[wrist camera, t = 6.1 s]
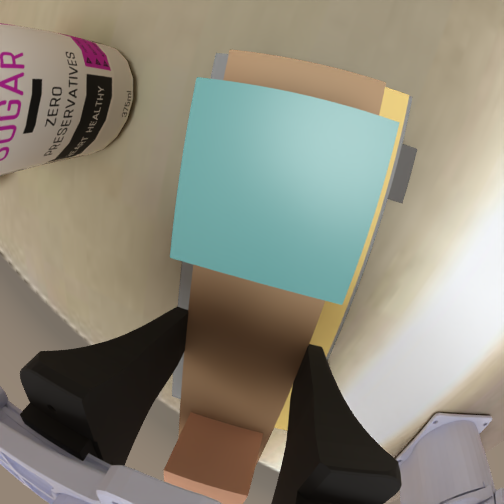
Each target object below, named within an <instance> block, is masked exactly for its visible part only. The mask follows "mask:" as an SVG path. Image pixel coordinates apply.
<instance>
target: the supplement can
mask: <svg viewBox="0 0 504 504" xmlns="http://www.w3.org/2000/svg"><path fill="white" fill-rule="evenodd" d="M132 100H133V76H132V74H131V71H130V68H129V65H128V62H127V60H126V59H125V58H124V57H123V56H122V54H121V53H120V52H119V51H118V50H117V49H115V48H112V47H109V46H107V45H104V44H100V43H96V42H93V41H89V40H85V39H81V38H77V37H73V36H68V35H64V34H59V33H55V32H50V31H45V30H39V29H34V28H28V27H22V26H15V25H8V24H1V23H0V176H2V175H5V174H9V173H12V172H16V171H20V170H24V169H27V168H31V167H35V166H39V165H44V164H48V163H52V162H56V161H61V160H65V159H70V158H75V157H80V156H85V155H89V154H92V153H94V152H97V151H100V150H103V149H104V148H105V147H106V146H107V145H108V144H109V143H111V142H112V141H113V140H114V139H115V138H116V137H117V136H118V134H119V132H120V131H121V129H122V127H123V126H124V124H125V122H126V121H127V118H128V115H129V111H130V107H131V104H132Z"/></svg>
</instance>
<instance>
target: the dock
mask: <svg viewBox="0 0 504 504" xmlns="http://www.w3.org/2000/svg"><path fill="white" fill-rule="evenodd" d="M228 56H229V54H222V53H216V55H215V60H214V65H213V69H212V74H211V79H217V80H223V79H224V74H225V70H226V65H227V60H228ZM411 102H412V97H411V96H409V95H407V94H404V93H401V92H399V91H396V90H393V89H390V88H387V87H385V90H384V95H383V99H382V104H381V109H380V113H379V116H382V117H385V118H388V119H391V120H394V121H397V122H399V127H398V131H397V135H396V139H395V143H394V147H393V151H392V155H391V159H390V162H389V166H388V170H387V173H386V177H385V180H384V184H383V187H382V191H381V194H380V198H379V201H378V204H377V207H376V211H375V214H374V217H373V220H372V223H371V226H370V229H369V232H368V235H367V238H366V241H365V244H364V247H363V250H362V253H361V256H360V259H359V262H358V264H357V267H356V270H355V273H354V275H353V278H352V281H351V283H350V286H349V289H348V291H347V294H346V296H345V299H344V302H343V304H342V305H340V304H336V303H332V302H328V301H325V303H324V306H323V309H322V312H321V314H320V317H319V320H318V322H317V325H316V328H315V330H314V333H313V336H312V338H311V341H310V343H309V344H312V345H316V346H321V347H322V348H323V350H324V353H325V356H326V359H327V361H328V358H329V356H330V354H331V352H332V349H333V347H334V345H335V342H336V340H337V338H338V335H339V333H340V331H341V328H342V326H343V323H344V321H345V319H346V316H347V314H348V311H349V309H350V306H351V304H352V301H353V299H354V296H355V293H356V291H357V288H358V285H359V283H360V280H361V277H362V275H363V272H364V269H365V266H366V264H367V261H368V258H369V255H370V252H371V249H372V246H373V243H374V240H375V237H376V234H377V231H378V228H379V225H380V222H381V219H382V215H383V212H384V209H385V206H386V202H387V199H390V200H393V201H396V202H399V203H403V199H404V196H405V193H406V189H407V186H408V182H409V179H410V175H411V171H412V168H413V164H414V160H415V156H416V152H417V149H415V148H413V147H410V146H407V145H404V144H402V143H403V139H404V134H405V130H406V126H407V121H408V116H409V112H410V107H411ZM192 272H193V264H190V263H187V262H183V261H182V267H181V277H180V287H179V298H178V307H180V308H183V309H186V310H188V308H189V298H190V289H191V281H192ZM183 361H184V353H183V356H182V358H181V360H180V362H179V364H178V366H177V367H176V369H175V370H174V372H173V387H172V396H174V397H176V398H179V399H181V388H182V374H183ZM292 387H293V385H292ZM291 392H292V388H291V390H290V393H289V395H288V397H287V400H286V402H285V404H284V406H283V409H282V411H281V413H280V415H279V418H278V420H277V422H276V424H275V426H274V428H278V429H283V430H287V431H288V419H289V408H290V397H291Z"/></svg>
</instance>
